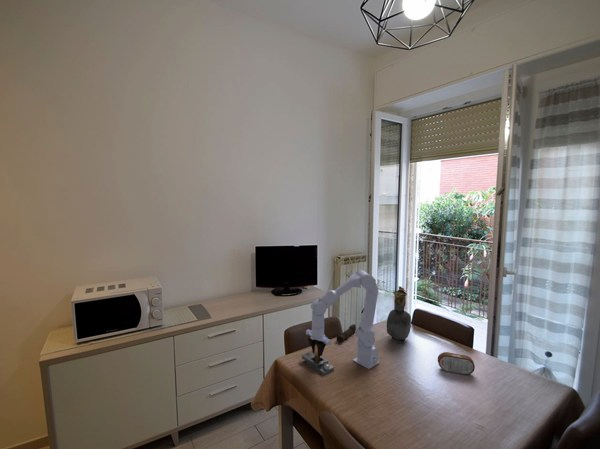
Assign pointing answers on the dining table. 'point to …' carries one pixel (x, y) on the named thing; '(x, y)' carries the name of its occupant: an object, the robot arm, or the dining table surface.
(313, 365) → the grey plate with knobs
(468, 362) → the tin
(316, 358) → the copper pin
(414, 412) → the dining table surface
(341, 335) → the hand tool
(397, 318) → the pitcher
